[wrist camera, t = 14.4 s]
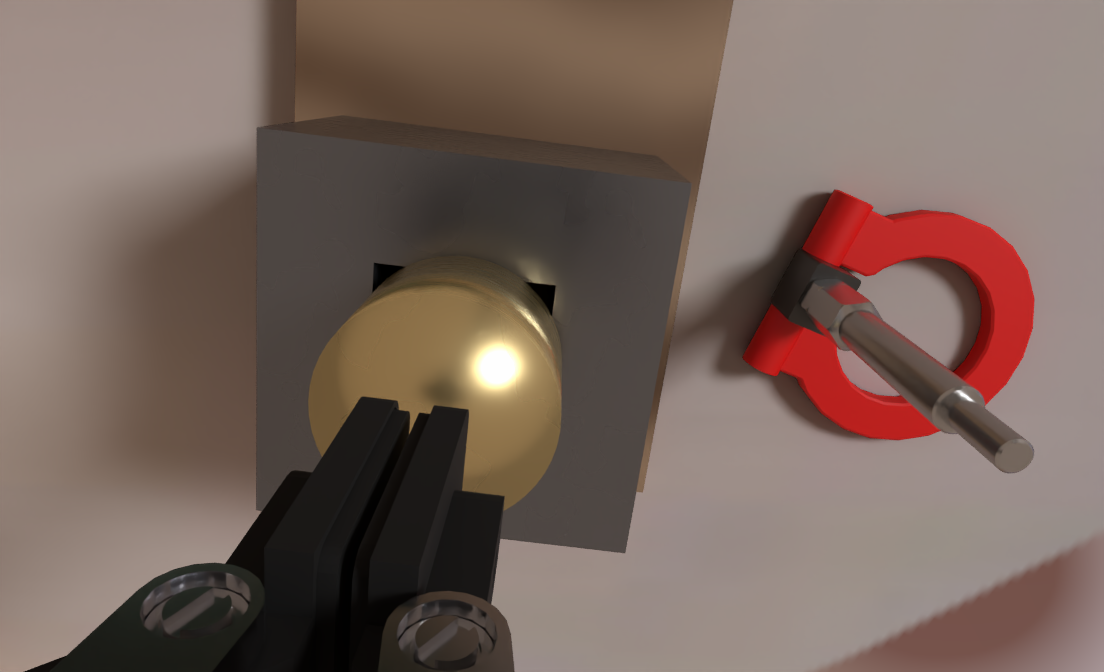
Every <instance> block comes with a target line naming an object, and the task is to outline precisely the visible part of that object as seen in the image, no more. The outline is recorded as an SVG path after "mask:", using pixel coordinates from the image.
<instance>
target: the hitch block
mask: <svg viewBox="0 0 1104 672" xmlns="http://www.w3.org/2000/svg"><path fill="white" fill-rule="evenodd" d="M691 186H692V183H691V182H689V181H688V180H687V179H686V178H684V177H683V176H682V175H681V174H679V173H678V172H677V171H676V170H674V169H673V168H672V167H671V166H669V165H668V164H667V163H665V162H664V161H663V160H662V159H660V158H659V157H658V156H655V155H647V154H639V153H631V152H624V151H616V150H608V149H600V148H593V147H585V146H577V145H570V144H562V143H554V142H546V141H539V140H531V139H523V138H515V137H508V136H500V135H492V134H485V133H477V132H469V131H461V130H454V129H446V128H438V127H430V126H423V125H415V124H407V123H399V122H392V121H384V120H376V119H369V118H361V117H353V116H345V115H340V116H333V117H326V118H319V119H312V120H305V121H298V122H291V123H285V124H278V125H271V126H264V127H257V462H256V510H260V511H263V509H264V508H265V506H266V505H267V503H268V502H269V501H270V499H271V498H272V496H273V495H274V493H275V492H276V490H277V489H278V488H279V486H280V485H281V483H282V482H283V480H284V479H285V478H286V476H287V475H288V474H289V473H290V472H291V471H294V470H298V471H306V472H313V471H314V469H315V467H316V466H317V464H318V463H319V461H320V460H321V458H322V456H321V454H320V452H319V450H318V448H317V446H316V443H315V440H314V437H313V434H312V430H311V425H310V420H309V408H308V398H309V387H310V383H311V379H312V375H313V371H314V368H315V366H316V364H317V361H318V359H319V356H320V355H321V353H322V351H323V350H324V348H325V346H326V345H327V343H328V342H329V341H330V340H331V338H332V337H333V336H334V335H335V333H336V332H337V331H338V330H339V329H340V328H341V327H342V326H343V324H344V323H345V322H346V321H347V320H348V319H349V318H350V317H351V316H352V315H353V314H354V312H355V311H356V310H357V309H358V308H359V307H360V306H361V305H362V304H363V303H364V302H365V300H366V299H367V298H368V297H369V296H370V295H371V294H372V293H373V292H374V291H375V290H376V288H377V287H378V286H379V285H381V284H382V283H383V282H384V281H385V280H386V279H387V278H388V277H390V276H391V275H392V274H394V273H395V272H397V271H398V270H400V269H402V268H404V267H406V266H408V265H410V264H412V263H415V262H418V261H421V260H424V259H428V258H433V257H438V256H452V255H453V256H468V257H473V258H478V259H482V260H485V261H488V262H492V263H495V264H497V265H499V266H501V267H503V268H505V269H507V270H509V271H510V272H512V273H514V274H515V275H517V276H518V277H520V278H521V279H522V280H523V281H524V282H532V283H540V284H548V285H551V293H550V301H549V309H548V310H549V312H550V314H551V315H552V317H553V319H554V322H555V325H556V327H557V330H558V333H559V338H560V343H561V352H562V393H561V427H560V435H559V440H558V444H557V448H556V450H555V453H554V456H553V458H552V461H551V463H550V465H549V466H548V468H547V470H546V472H545V474H544V475H543V476H542V478H541V479H540V480H539V482H538V483H537V484H536V486H535V487H534V488H533V489H532V490H531V491H530V492H529V493H528V494H527V495H526V496H525V497H523V498H522V499H521V500H519V501H518V502H517V503H516V504H514V505H513V506H511V507H509V508H508V509H506V510H504V511H503V518H502V526H501V535H500V539H508V540H517V541H525V542H534V543H542V544H551V545H560V546H568V547H577V548H585V549H594V550H602V551H611V552H620V553H625V551H626V545H627V540H628V534H629V529H630V523H631V518H632V512H633V507H634V501H635V496H636V490H637V485H638V479H639V474H640V468H641V463H642V457H643V451H644V446H645V440H646V435H647V429H648V424H649V418H650V413H651V407H652V402H653V396H654V391H655V385H656V380H657V374H658V369H659V363H660V357H661V352H662V346H663V341H664V335H665V330H666V324H667V319H668V313H669V308H670V302H671V297H672V291H673V286H674V280H675V275H676V269H677V264H678V258H679V252H680V247H681V241H682V236H683V230H684V225H685V219H686V214H687V208H688V203H689V197H690V192H691Z"/></svg>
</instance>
